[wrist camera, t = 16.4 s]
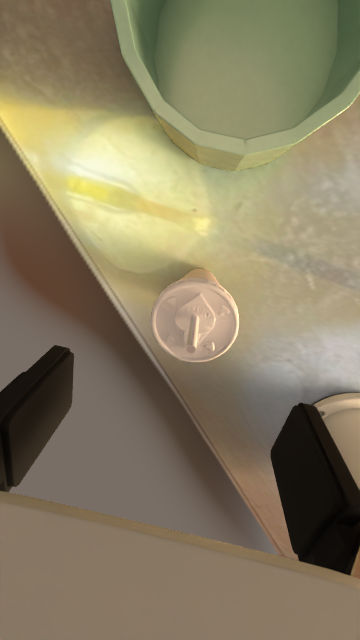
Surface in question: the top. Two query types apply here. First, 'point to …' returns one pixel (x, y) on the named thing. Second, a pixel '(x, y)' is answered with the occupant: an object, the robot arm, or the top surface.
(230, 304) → the smoothie
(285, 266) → the top surface
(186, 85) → the pot
